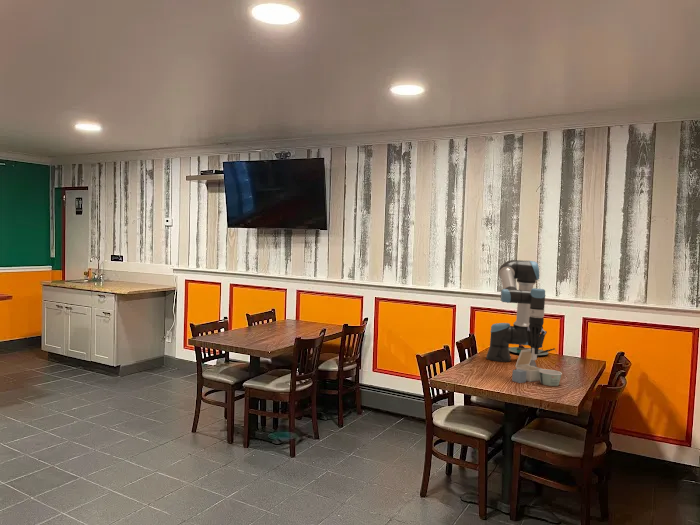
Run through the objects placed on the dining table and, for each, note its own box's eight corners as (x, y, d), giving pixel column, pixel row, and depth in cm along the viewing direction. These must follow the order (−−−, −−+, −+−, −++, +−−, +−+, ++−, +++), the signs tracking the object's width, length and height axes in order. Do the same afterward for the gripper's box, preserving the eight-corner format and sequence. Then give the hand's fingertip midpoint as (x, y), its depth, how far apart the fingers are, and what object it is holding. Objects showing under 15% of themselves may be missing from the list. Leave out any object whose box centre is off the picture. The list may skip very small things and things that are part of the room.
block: (512, 380, 295) (512, 369, 295) (518, 380, 298) (519, 369, 298) (519, 383, 291) (520, 371, 291) (525, 382, 294) (526, 371, 294)
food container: (549, 387, 285) (549, 374, 285) (532, 381, 296) (533, 369, 296) (566, 386, 290) (567, 373, 290) (549, 380, 301) (550, 368, 301)
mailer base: (515, 377, 303) (516, 366, 303) (529, 375, 309) (529, 365, 309) (530, 381, 295) (530, 370, 295) (543, 380, 301) (544, 369, 301)
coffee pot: (516, 371, 319) (517, 346, 318) (516, 367, 330) (517, 343, 329) (555, 376, 312) (556, 350, 312) (554, 372, 323) (555, 346, 323)
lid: (516, 367, 303) (514, 366, 304) (529, 365, 309) (528, 365, 310) (522, 350, 300) (521, 349, 301) (535, 349, 306) (534, 348, 306)
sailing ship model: (542, 359, 361) (543, 342, 361) (500, 353, 377) (501, 336, 376) (552, 353, 385) (553, 337, 384) (513, 347, 400) (513, 332, 400)
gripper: (522, 315, 303) (519, 357, 304) (541, 318, 292) (539, 362, 293) (531, 315, 307) (528, 356, 308) (551, 318, 296) (548, 361, 297)
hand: (533, 359), depth 300 cm, fingers closed
